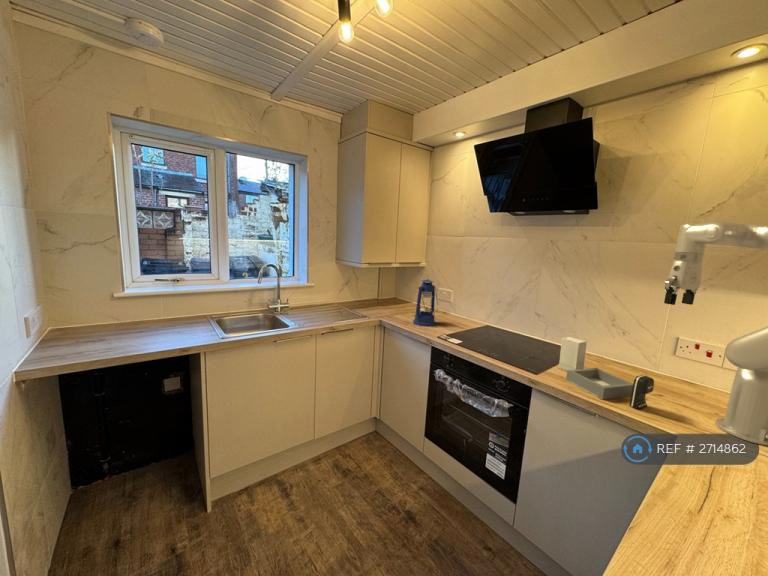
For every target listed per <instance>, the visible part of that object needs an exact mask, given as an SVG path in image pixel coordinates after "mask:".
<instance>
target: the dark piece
mask: <svg viewBox="0 0 768 576" xmlns="http://www.w3.org/2000/svg"><path fill="white" fill-rule="evenodd" d="M632 384H633V388H632V394H631V396H630V401H629V407H631V408H634V409H636V410H642V409H644V408H647V407H648V403H647V401H646V395H648V394H650V393H652V392H654V386H655V379H654V378H652V377H650V376H647V375H645V374H640V375H638V376H636V377H634V380H633V382H632Z"/></svg>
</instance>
